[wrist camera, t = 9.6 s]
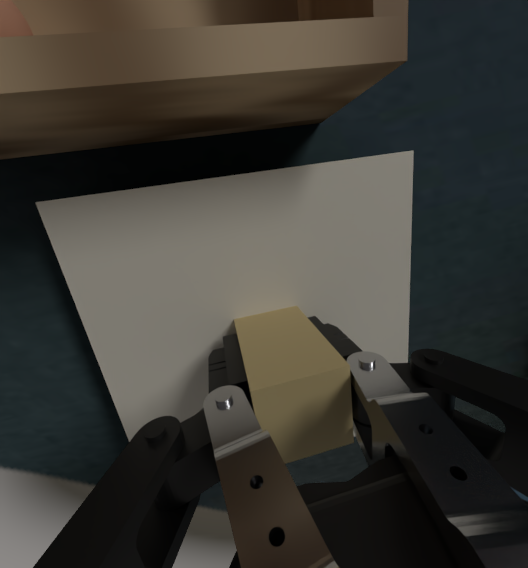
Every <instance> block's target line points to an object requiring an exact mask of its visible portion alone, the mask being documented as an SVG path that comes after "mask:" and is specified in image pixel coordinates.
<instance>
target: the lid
mask: <svg viewBox="0 0 528 568" xmlns="http://www.w3.org/2000/svg"><path fill="white" fill-rule="evenodd" d="M413 152H414V150H413V151H406V152H399V153H391V154H384V155H377V156H369V157H362V158H355V159H348V160H340V161H333V162H326V163H318V164H311V165H304V166H297V167H289V168H282V169H275V170H267V171H260V172H253V173H246V174H238V175H231V176H224V177H216V178H209V179H202V180H194V181H187V182H180V183H173V184H165V185H158V186H151V187H143V188H136V189H129V190H122V191H114V192H107V193H100V194H92V195H85V196H78V197H71V198H63V199H56V200H49V201H41V202H35V203H36V206H37V208H38V211H39V213H40V216H41V218H42V221H43V223H44V226H45V229H46V231H47V234H48V236H49V239H50V241H51V244H52V246H53V249H54V252H55V254H56V257H57V259H58V262H59V264H60V267H61V269H62V272H63V274H64V277H65V280H66V282H67V285H68V287H69V290H70V292H71V295H72V297H73V300H74V302H75V305H76V308H77V310H78V313H79V315H80V318H81V320H82V323H83V325H84V328H85V330H86V333H87V336H88V338H89V341H90V343H91V346H92V348H93V351H94V353H95V356H96V358H97V361H98V364H99V366H100V369H101V371H102V374H103V376H104V379H105V381H106V384H107V386H108V389H109V392H110V394H111V397H112V399H113V402H114V404H115V407H116V409H117V412H118V415H119V417H120V420H121V422H122V425H123V427H124V430H125V432H126V435H127V437H128V440H129V442H130V441H131V439H132V438H133V437H134V435H135V434H136V433H137V432H138V431H139V429H140V428H141V427H143V426H144V425H145V424H146V423H148V422H150V421H151V420H153V419H156V418H158V417H162V416H173V417H176V418H177V419H178V420H179V422H180V423H181V422H183V421H185V420H186V419H188V418H190V417H192V416H194V415H195V414H197V413H198V412H199V411H200V410H201V409H202V408H203V402H204V400H205V398H206V397H207V395H208V394H209V380H208V372H209V371H208V366H209V365H208V357H209V355H210V354H211V352H212V351H213V350H215V349H219V348H223V347H224V344H223V336H227V335H232V334H236V333H237V337H238V341H239V345H240V350H241V354H242V358H243V363H244V367H245V372H246V376H247V380H248V385H249V391H250V396H251V401H252V406H253V411H254V414H255V416H256V418H257V420H258V422H259V424H260V426H261V429H262V430H267V431H268V432H269V434H270V436H271V438H272V440H273V442H274V444H275V446H276V448H277V450H278V452H279V454H280V456H281V457H282V459H283V461H284V463H285V464H286V463H289V462H293V461H296V460H299V459H302V458H306V457H309V456H312V455H315V454H319V453H322V452H325V451H328V450H332V449H335V448H338V447H341V446H345V445H348V444H351V443H354V437H355V433H354V431H353V416H352V397H351V377H350V365H349V364H348V363H347V362H346V361H345V359H344V358H343V357H342V356H341V355H340V354H339V353H338V352H337V350H336V349H335V348H334V347H333V346H332V345H331V344H330V343H329V341H328V340H327V339H326V338H325V337H324V336H323V335H322V334H321V332H320V331H319V330H318V329H317V328H316V327H315V326H314V325H313V323H312V322H311V321H310V320H309V319H308V318H307V317H312V316H316V317H317V318H318V319H319V320H320V321H321V322H322V323H323V324H327V323H329V324H331V325H334V326H336V327H338V328H339V329H340V330H341V331H342V332H343V334H345V335H346V336H347V337H348V338H350V339H351V340H352V341H353V342H354V343H355V344H356V345H357V346H358V347H359V348H360V349H361V350H362V351H367V352H373V353H376V354H379V355H381V356H382V357H384V358H385V359H386V360H387V362H388V363H408V337H409V300H410V263H411V226H412V189H413Z"/></svg>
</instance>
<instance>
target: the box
mask: <svg viewBox="0 0 528 568" xmlns="http://www.w3.org/2000/svg"><path fill="white" fill-rule="evenodd" d="M11 1H12V2H13V3H14V4H15V5H16V7H17V8H18V9H19V10H20V12H21V13H22V15H23V16H24V18H25V20H26V21H27V23H28V25H29V26H30V28H31V30H32V33H33V36H14V37H0V160H1V159H10V158H18V157H27V156H36V155H45V154H54V153H62V152H71V151H80V150H89V149H97V148H106V147H115V146H124V145H132V144H141V143H150V142H159V141H168V140H176V139H185V138H194V137H203V136H211V135H220V134H229V133H238V132H246V131H255V130H264V129H273V128H282V127H290V126H299V125H308V124H317V123H321V122H323V121H324V120H326V119H327V118H328V117H330V116H331V115H333V114H334V113H335V112H337V111H338V110H339V109H341V108H342V107H344V106H345V105H346V104H348V103H349V102H350V101H352V100H353V99H355V98H356V97H357V96H359V95H360V94H362V93H363V92H364V91H366V90H367V89H368V88H370V87H371V86H373V85H374V84H375V83H377V82H378V81H380V80H381V79H382V78H384V77H385V76H386V75H388V74H389V73H391V72H392V71H393V70H395V69H396V68H398V67H399V66H400V65H402V64H403V63H404V62H406V61H407V38H408V0H11Z"/></svg>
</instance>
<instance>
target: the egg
mask: <svg viewBox="0 0 528 568" xmlns="http://www.w3.org/2000/svg"><path fill="white" fill-rule="evenodd" d="M14 36H33V33H32V30H31V28H30V26H29V25H28V23H27V21H26V20H25V18H24V16H23V15H22V13H21V12H20V10H19V9H18V8H17V7H16V5H15V4H14V3H13V2H12V1H11V0H0V37H14Z"/></svg>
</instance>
